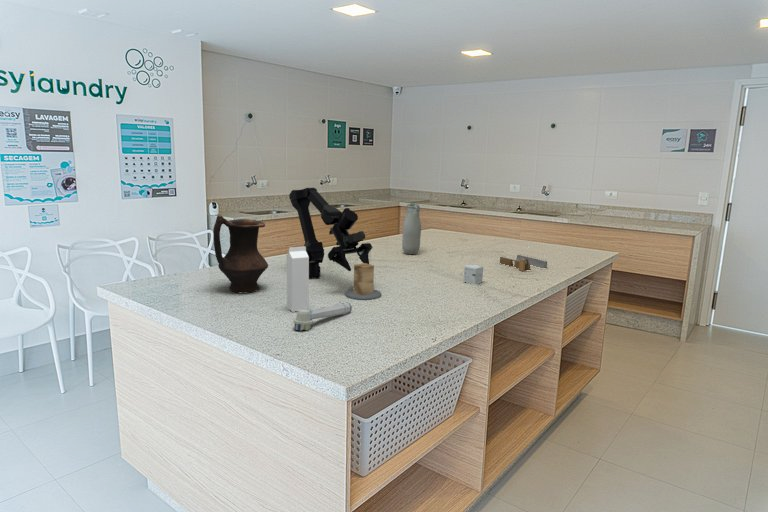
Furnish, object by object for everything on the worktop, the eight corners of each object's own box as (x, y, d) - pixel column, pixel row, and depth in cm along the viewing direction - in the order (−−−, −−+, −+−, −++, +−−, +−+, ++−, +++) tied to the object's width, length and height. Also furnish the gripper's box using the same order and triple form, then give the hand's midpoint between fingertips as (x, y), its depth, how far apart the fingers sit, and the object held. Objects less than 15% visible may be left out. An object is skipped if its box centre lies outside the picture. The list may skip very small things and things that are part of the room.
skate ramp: (561, 270, 254) (562, 256, 253) (511, 278, 236) (512, 262, 234) (516, 259, 278) (517, 246, 277) (468, 265, 260) (469, 251, 258)
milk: (308, 310, 177) (309, 248, 173) (292, 312, 174) (292, 249, 170) (302, 305, 182) (303, 244, 178) (286, 307, 179) (286, 245, 175)
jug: (253, 281, 214) (251, 209, 208) (277, 290, 201) (276, 214, 195) (204, 289, 199) (201, 212, 193) (227, 299, 186) (225, 218, 180)
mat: (349, 300, 190) (349, 298, 190) (341, 291, 203) (341, 289, 203) (385, 298, 194) (385, 296, 194) (375, 289, 207) (375, 287, 207)
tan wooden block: (353, 292, 199) (354, 264, 196) (364, 290, 202) (364, 263, 200) (362, 295, 195) (363, 267, 192) (373, 293, 198) (373, 265, 196)
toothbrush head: (354, 303, 175) (303, 310, 154) (352, 322, 175) (301, 331, 155) (342, 300, 178) (291, 306, 157) (340, 319, 178) (289, 328, 157)
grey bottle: (400, 255, 278) (402, 203, 273) (403, 251, 288) (405, 202, 282) (418, 256, 277) (421, 204, 271) (420, 252, 286) (423, 202, 281)
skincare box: (463, 282, 223) (464, 266, 221) (470, 280, 227) (471, 264, 226) (474, 285, 219) (476, 268, 217) (482, 283, 223) (483, 266, 222)
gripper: (332, 226, 192) (350, 260, 187) (370, 222, 205) (387, 254, 199) (320, 243, 200) (336, 276, 194) (357, 239, 212) (374, 270, 206)
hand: (359, 269), depth 198 cm, fingers open, 9 cm apart
